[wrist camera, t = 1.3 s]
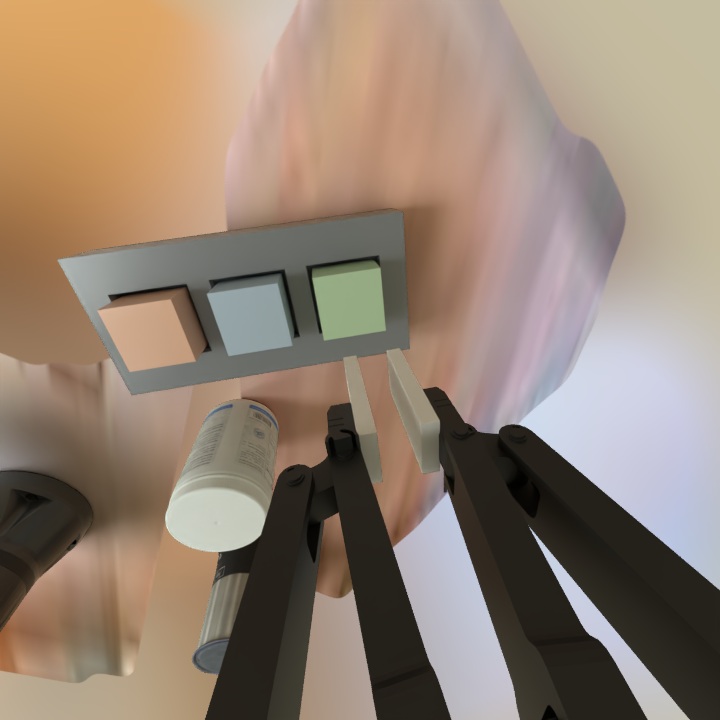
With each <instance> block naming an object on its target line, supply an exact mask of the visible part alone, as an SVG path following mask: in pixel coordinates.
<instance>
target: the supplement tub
mask: <svg viewBox="0 0 720 720" xmlns="http://www.w3.org/2000/svg"><path fill="white" fill-rule="evenodd" d="M278 434H279V425H278V422H277V419H276V417H275V416H274V414H273V413H272V412H271V411H270V410H269V409H268V408H267V407H266V406H264V405H262V404H260V403H258V402H255V401H252V400H246V399H236V400H230V401H227V402H224V403H222V404H219V405H218V406H216V407H215V408H213V409H212V410H211V411H210V413H209V414H208V415H207V417H206V419H205V421H204V423H203V425H202V427H201V430H200V432H199V434H198V437H197V439H196V441H195V443H194V445H193V448H192V450H191V453H190V455H189V457H188V459H187V461H186V464H185V466H184V468H183V471H182V473H181V475H180V477H179V480H178V482H177V484H176V487H175V489H174V491H173V494H172V496H171V499H170V502H169V507H168V510H167V512H166V517H165V523H166V527H167V529H168V531H169V532H170V534H171V535H172V536H173V537H174V538H175V539H176V540H177V541H179V542H180V543H182V544H184V545H186V546H188V547H190V548H193V549H197V550H202V551H208V552H224V551H231V550H235V549H239V548H241V547H244V546H246V545H248V544H250V543H252V542H253V541H255V540H256V539H257V538H258V537H259V536H260V535H261V532H262V529H263V526H264V523H265V519H266V516H267V513H268V509H269V506H270V503H271V498H272V490H273V481H274V472H275V463H276V453H277V444H278Z"/></svg>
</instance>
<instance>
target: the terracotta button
mask: <svg viewBox="0 0 720 720" xmlns="http://www.w3.org/2000/svg"><path fill="white" fill-rule="evenodd" d="M97 311H98V313H99V315H100V317H101V319H102V321H103V323H104V325H105V327H106V328H107V330H108V332H109V334H110V336H111V338H112V340H113V342H114V343H115V345H116V347H117V349H118V351H119V353H120V355H121V357H122V359H123V360H124V362H125V364H126V366H127V368H128V370H129V372H133V371H140V370H146V369H152V368H158V367H164V366H171V365H177V364H183V363H189V362H195V361H197V359H198V358H199V356H200V355H201V353H202V352H203V350H204V349H205V347H206V346H207V344H208V342H207V339H206V337H205V334H204V331H203V329H202V326H201V323H200V321H199V318H198V315H197V313H196V310H195V307H194V305H193V302H192V299H191V297H190V294H189V292H188V289H187V287H182V288H175V289H169V290H162V291H155V292H148V293H142V294H135V295H128V296H122V297H120V298H118V299H116V300H115V301H113V302H111V303H109V304H107V305H106V306H104V307H102V308H100V309H98V310H97Z"/></svg>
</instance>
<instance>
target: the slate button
mask: <svg viewBox="0 0 720 720" xmlns="http://www.w3.org/2000/svg"><path fill="white" fill-rule="evenodd" d="M207 296H208V299H209V302H210V305H211V308H212V310H213V313H214V316H215V319H216V322H217V325H218V327H219V330H220V333H221V336H222V339H223V342H224V344H225V347H226V350H227V353H228V356H232V355H238V354H245V353H251V352H257V351H263V350H269V349H276V348H282V347H288V346H293V338H294V330H295V329H294V325H293V321H292V316H291V312H290V308H289V303H288V299H287V295H286V291H285V286H284V282H283V278H282V273H277V274H270V275H263V276H256V277H250V278H243V279H236V280H229V281H223V282H218V283H217V284H216V285H215V286H214V287H213V288H212V289H211V290H210V291H209V292H208V293H207Z"/></svg>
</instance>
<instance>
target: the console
mask: <svg viewBox="0 0 720 720" xmlns="http://www.w3.org/2000/svg"><path fill="white" fill-rule="evenodd" d="M371 259H373V260H374V261H375V262H376V263H377V264H378V266H379V267H380V269H381V280H382V292H383V303H384V315H385V327H386V331H381V332H374V333H368V334H362V335H356V336H350V337H344V338H337V339H331V340H325V341H324V338H323V333H322V327H321V322H320V317H319V311H318V306H317V301H316V295H315V290H314V285H313V279H312V268H317V267H324V266H331V265H337V264H344V263H351V262H358V261H364V260H371ZM58 262H59V263H60V266H61V267H62V269H63V271H64V273H65V275H66V276H67V278H68V280H69V282H70V284H71V286H72V287H73V289H74V291H75V293H76V295H77V296H78V298H79V300H80V302H81V304H82V305H83V307H84V309H85V311H86V313H87V315H88V317H89V318H90V320H91V322H92V324H93V326H94V327H95V329H96V331H97V333H98V335H99V337H100V338H101V340H102V342H103V344H104V346H105V347H106V349H107V351H108V353H109V355H110V357H111V358H112V360H113V362H114V364H115V366H116V367H117V369H118V371H119V373H120V375H121V377H122V378H123V380H124V382H125V384H126V386H127V388H128V389H129V391H130V393H131V395H136V394H142V393H148V392H154V391H160V390H166V389H172V388H178V387H184V386H190V385H196V384H202V383H208V382H215V381H221V380H227V379H233V378H239V377H245V376H251V375H257V374H263V373H269V372H275V371H281V370H287V369H293V368H299V367H305V366H311V365H317V364H323V363H329V362H335V361H341V360H343V358H344V357H350V356H357V358H359V357H365V356H371V355H377V354H383V353H387V350H392V349H398V348H400V350H407V349H410V343H409V322H408V302H407V281H406V261H405V241H404V220H403V211H400V210H395V209H384V210H377V211H369V212H362V213H355V214H348V215H341V216H334V217H326V218H319V219H312V220H305V221H298V222H290V223H283V224H276V225H269V226H262V227H254V228H247V229H240V230H233V231H226V232H219V233H212V234H204V235H197V236H190V237H183V238H175V239H169V240H161V241H154V242H147V243H140V244H133V245H125V246H118V247H111V248H104V249H96V250H91V251H87V252H83V253H80V254H77V255H73V256H69V257H65V258H62V259H58ZM277 273H282V278H283V282H284V286H285V291H286V295H287V299H288V303H289V308H290V312H291V316H292V321H293V325H294V329H295V330H294V338H293V346H288V347H282V348H276V349H269V350H263V351H257V352H251V353H245V354H238V355H232V356H228V353H227V350H226V347H225V344H224V342H223V339H222V336H221V333H220V330H219V327H218V325H217V322H216V319H215V316H214V313H213V310H212V308H211V305H210V302H209V299H208V296H207V293H208V292H209V291H210V290H211V289H212V288H213V287H214V286H215V285H216V284H217V283H218V282H223V281H229V280H236V279H243V278H250V277H256V276H263V275H270V274H277ZM182 287H187V289H188V292H189V294H190V297H191V299H192V302H193V305H194V307H195V310H196V313H197V315H198V318H199V321H200V323H201V326H202V329H203V331H204V334H205V337H206V339H207V342H208V344H207V346H206V347H205V349H204V350H203V352H202V353H201V355H200V356H199V358H198V359H197V361H195V362H189V363H183V364H177V365H171V366H164V367H158V368H152V369H146V370H140V371H133V372H129V370H128V368H127V366H126V364H125V362H124V360H123V359H122V357H121V355H120V353H119V351H118V349H117V347H116V345H115V343H114V342H113V340H112V338H111V336H110V334H109V332H108V330H107V328H106V327H105V325H104V323H103V321H102V319H101V317H100V315H99V313H98V311H97V310H98V309H100V308H102V307H104V306H106V305H107V304H109V303H111V302H113V301H115V300H116V299H118V298H120V297H122V296H128V295H135V294H142V293H148V292H155V291H162V290H169V289H175V288H182Z"/></svg>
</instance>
